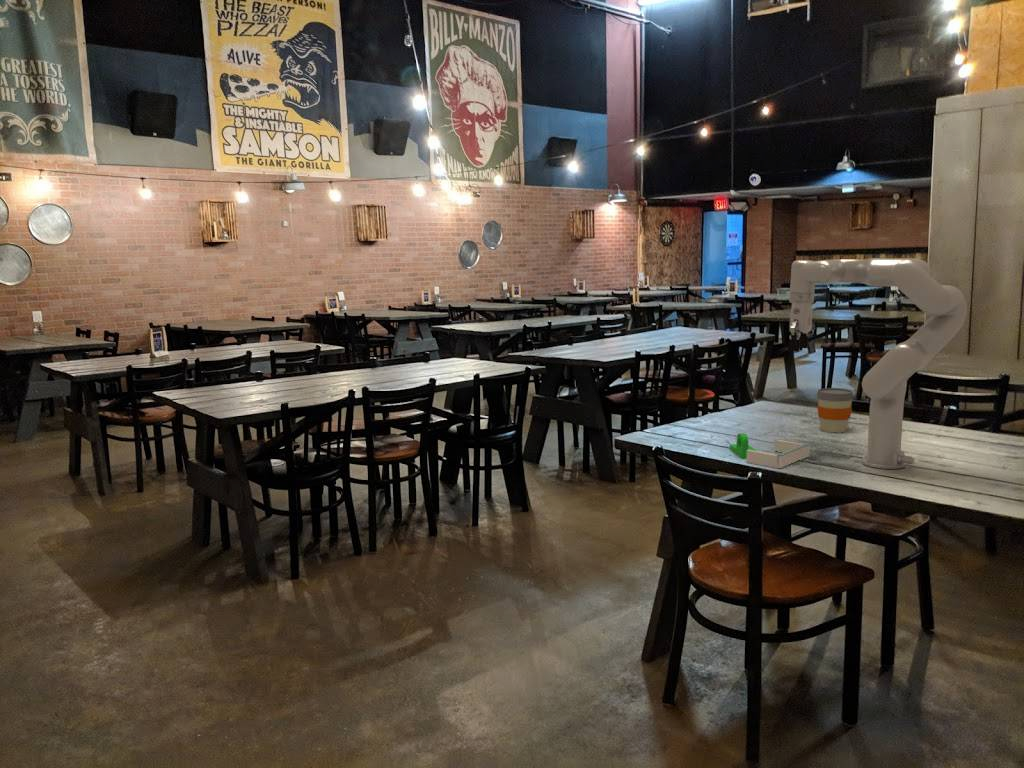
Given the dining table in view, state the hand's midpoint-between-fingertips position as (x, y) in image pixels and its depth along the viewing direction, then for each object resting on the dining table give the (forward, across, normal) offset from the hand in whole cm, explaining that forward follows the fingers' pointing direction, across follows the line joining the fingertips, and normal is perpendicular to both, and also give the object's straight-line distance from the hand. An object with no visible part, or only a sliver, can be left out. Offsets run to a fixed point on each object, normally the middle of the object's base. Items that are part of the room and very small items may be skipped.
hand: (798, 349), depth 262 cm
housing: (+35, -14, +1) cm, 37 cm away
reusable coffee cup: (+35, +37, -5) cm, 51 cm away
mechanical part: (+36, -12, +12) cm, 39 cm away
